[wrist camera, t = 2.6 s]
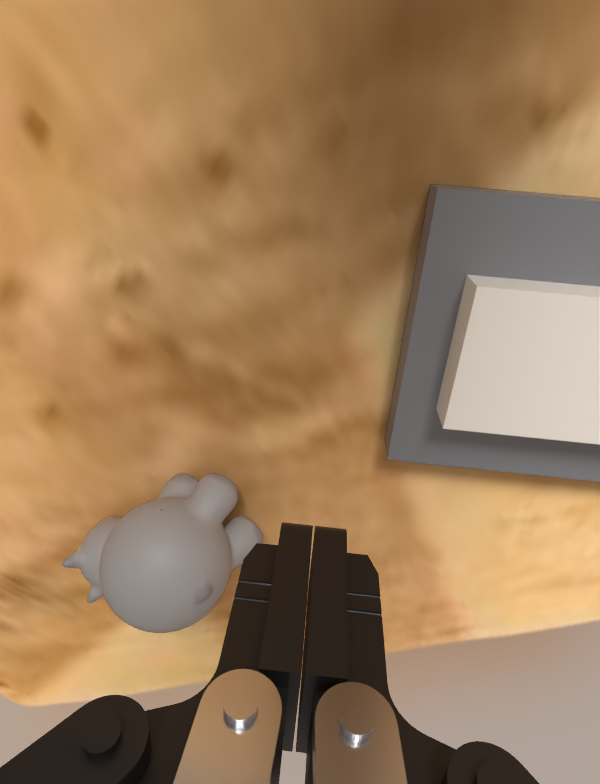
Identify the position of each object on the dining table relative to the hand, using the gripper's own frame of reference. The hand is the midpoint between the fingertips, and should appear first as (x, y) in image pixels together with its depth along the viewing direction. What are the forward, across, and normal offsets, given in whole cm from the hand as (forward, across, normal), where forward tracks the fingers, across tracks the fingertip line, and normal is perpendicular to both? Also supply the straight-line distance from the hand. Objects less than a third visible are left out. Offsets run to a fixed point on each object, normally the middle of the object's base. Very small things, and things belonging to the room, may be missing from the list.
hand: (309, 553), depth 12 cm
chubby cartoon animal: (+17, +9, +14) cm, 24 cm away
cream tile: (+13, -11, 0) cm, 17 cm away
